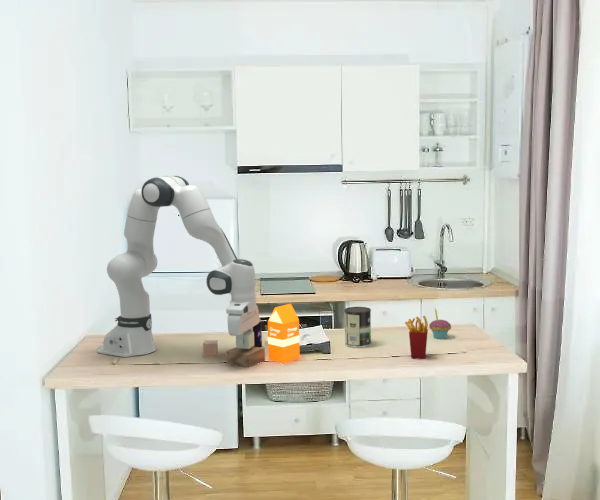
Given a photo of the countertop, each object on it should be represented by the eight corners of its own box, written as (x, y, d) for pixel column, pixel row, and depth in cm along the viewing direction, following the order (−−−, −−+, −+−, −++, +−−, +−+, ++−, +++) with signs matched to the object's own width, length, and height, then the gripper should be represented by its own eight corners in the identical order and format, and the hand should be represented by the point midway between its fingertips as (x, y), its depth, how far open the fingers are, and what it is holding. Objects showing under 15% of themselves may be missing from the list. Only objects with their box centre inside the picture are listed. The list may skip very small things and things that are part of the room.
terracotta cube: (203, 356, 287) (202, 343, 286) (204, 353, 292) (204, 340, 291) (216, 356, 287) (216, 343, 286) (218, 352, 292) (217, 340, 291)
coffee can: (370, 340, 304) (369, 306, 302) (372, 347, 294) (371, 311, 292) (344, 341, 304) (343, 306, 302) (345, 348, 294) (344, 312, 292)
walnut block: (226, 364, 276) (226, 351, 276) (242, 357, 285) (242, 344, 284) (248, 368, 271) (248, 354, 270) (264, 361, 280) (264, 348, 279)
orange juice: (268, 359, 281) (266, 306, 278) (285, 354, 287) (283, 302, 284) (283, 363, 276) (282, 309, 273) (300, 357, 282) (299, 304, 279)
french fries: (427, 359, 276) (427, 319, 274) (404, 358, 278) (404, 318, 276) (428, 353, 284) (428, 313, 282) (406, 352, 286) (406, 313, 284)
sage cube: (236, 347, 276) (235, 334, 275) (241, 344, 280) (241, 331, 280) (248, 348, 274) (248, 335, 273) (254, 345, 279) (253, 331, 278)
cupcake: (429, 339, 303) (429, 310, 302) (429, 334, 312) (429, 305, 310) (451, 340, 302) (451, 310, 300) (450, 334, 310) (450, 305, 309)
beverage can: (260, 350, 293) (259, 320, 291) (245, 350, 294) (244, 319, 292) (263, 346, 298) (262, 316, 297) (249, 346, 299) (248, 316, 298)
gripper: (247, 298, 286) (248, 334, 288) (224, 310, 267) (225, 348, 269) (262, 299, 284) (263, 335, 286) (240, 311, 264) (241, 349, 266)
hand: (244, 342), depth 277 cm, fingers closed on sage cube, 5 cm apart
